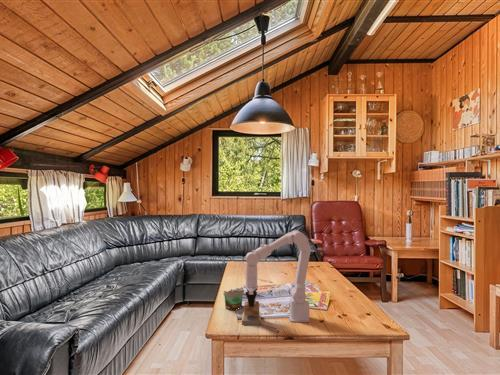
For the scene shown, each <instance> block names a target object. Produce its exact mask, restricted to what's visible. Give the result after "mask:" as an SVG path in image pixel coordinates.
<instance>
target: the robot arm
mask: <svg viewBox="0 0 500 375" xmlns="http://www.w3.org/2000/svg"><path fill="white" fill-rule="evenodd" d="M286 244H287V245H294V244H295V246H296V247H298V249H299V250H300V251H299V255H298V260H297V266H296V270H295V271H296V272H295V276H294V281H292V285H291V286H290V288H289V294H290V296H291V298H290V301H289V302H290V303H289V305H290V306H289V309H290V312H289V314H288V318H289V321H290V322H292V323H293V322H294V323H295V322H299V323H302V322H303V323H310V322H311V321H310V302H309V301H308V300H306V298H307V295H306V285H305V284H306V278H307V272H308V267H309V262H310V257H311V256H310V255H311V251H312V248H311V245H310V242H309V240H308V237H307V235H305V234H304V233H303V232H300V230H297V229H293V230H291V231H289V232H287V233H286V234H284V235H282V236H281V237H279V238H278V239H276V240H274V241H273V242H271V243H269V244H263V243H262V244H260V246H259V247H258V248H256V249H252V250H251V251H250V252H247V253H246V255H245V257H244V258H245V261H246V263H245V266H246V267H245V284H243V287H242V288H243V289H245V290H246V291H245V296H246V299H247V300H248V303H249V307H253V306H254V301H255V298H256V296H257V295H258V292H257V290H258V288H259V286H258V285H259V284H258V263H259V261H262V260H263V259H266V258H267V257H269V256H270V255H272V252H273V251H274V250H276V249H279V248H280V247H282V246H284V245H286Z"/></svg>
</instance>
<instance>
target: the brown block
mask: <svg viewBox="0 0 500 375" xmlns="http://www.w3.org/2000/svg"><path fill="white" fill-rule="evenodd" d="M243 307H244V312H245V316H247V315H259V313H260V302H259V301H257V300H256V305H254V306H253V307H249V305H248V303H247V301H244V306H243Z"/></svg>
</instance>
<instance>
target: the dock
mask: <svg viewBox="0 0 500 375" xmlns="http://www.w3.org/2000/svg"><path fill="white" fill-rule="evenodd" d="M261 313H262V312H259V315H247V316H245V311H243V312H242V318H241V325H242V326H261V325H262V324H261V319H262V317H261V316H262V314H261Z"/></svg>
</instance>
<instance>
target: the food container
mask: <svg viewBox="0 0 500 375" xmlns="http://www.w3.org/2000/svg"><path fill="white" fill-rule="evenodd" d="M244 291H245V290H244V287H242V286H241V287H240V288H238V289H231V290H228V291H226V290H224V291H223V296H224V303H225V304H224V306H225V310H228V311H237V310H236V309H238V308H240V307H241V308H242V304H243V295H244V293H245V292H244ZM238 310H239V309H238Z"/></svg>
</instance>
